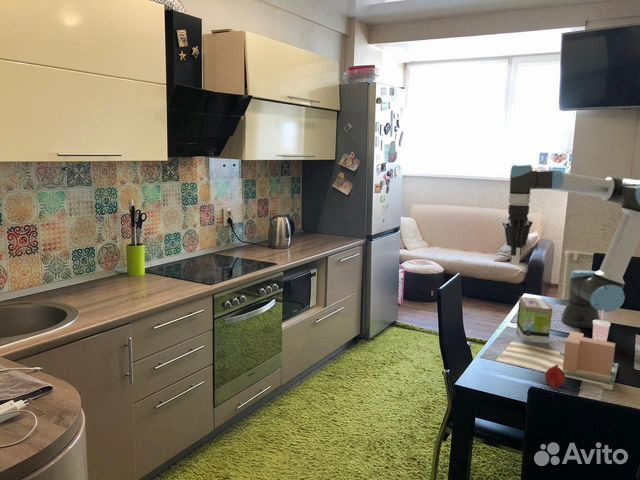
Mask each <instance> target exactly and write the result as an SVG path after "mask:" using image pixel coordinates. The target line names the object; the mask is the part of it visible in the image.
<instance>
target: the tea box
mask: <svg viewBox="0 0 640 480" xmlns="http://www.w3.org/2000/svg"><path fill="white" fill-rule="evenodd" d="M552 314H553V308H552V306H550V304H549V303H548V301H546V300H545V298H537V297H526V296H519V300H518V311H517V320H516V333H517V334H518V336H519V337H520V340H521V341H522V342H527V343H528V342H529V343H542V344H549V341H550V331H551V324H552V316H553V315H552Z"/></svg>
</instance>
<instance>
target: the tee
mask: <svg viewBox="0 0 640 480" xmlns="http://www.w3.org/2000/svg"><path fill="white" fill-rule="evenodd" d="M564 344H565V346H564V361H563V370H567V371H571V372H576V370H577V368H578V369H582V370H587V371H591V372H596V373H600V374H605V375H609V376H611V373H612V367H613V363H614V359H615V358H614V357H615V350H616V343H615V342H611V341H607V342H606V341H601V340H595V339H593V338H589V337H585V336H584V333H582V332H576V331H573V330H571V331H570V332H569V335H568V337H567V338H566V340H565V342H564Z"/></svg>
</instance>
